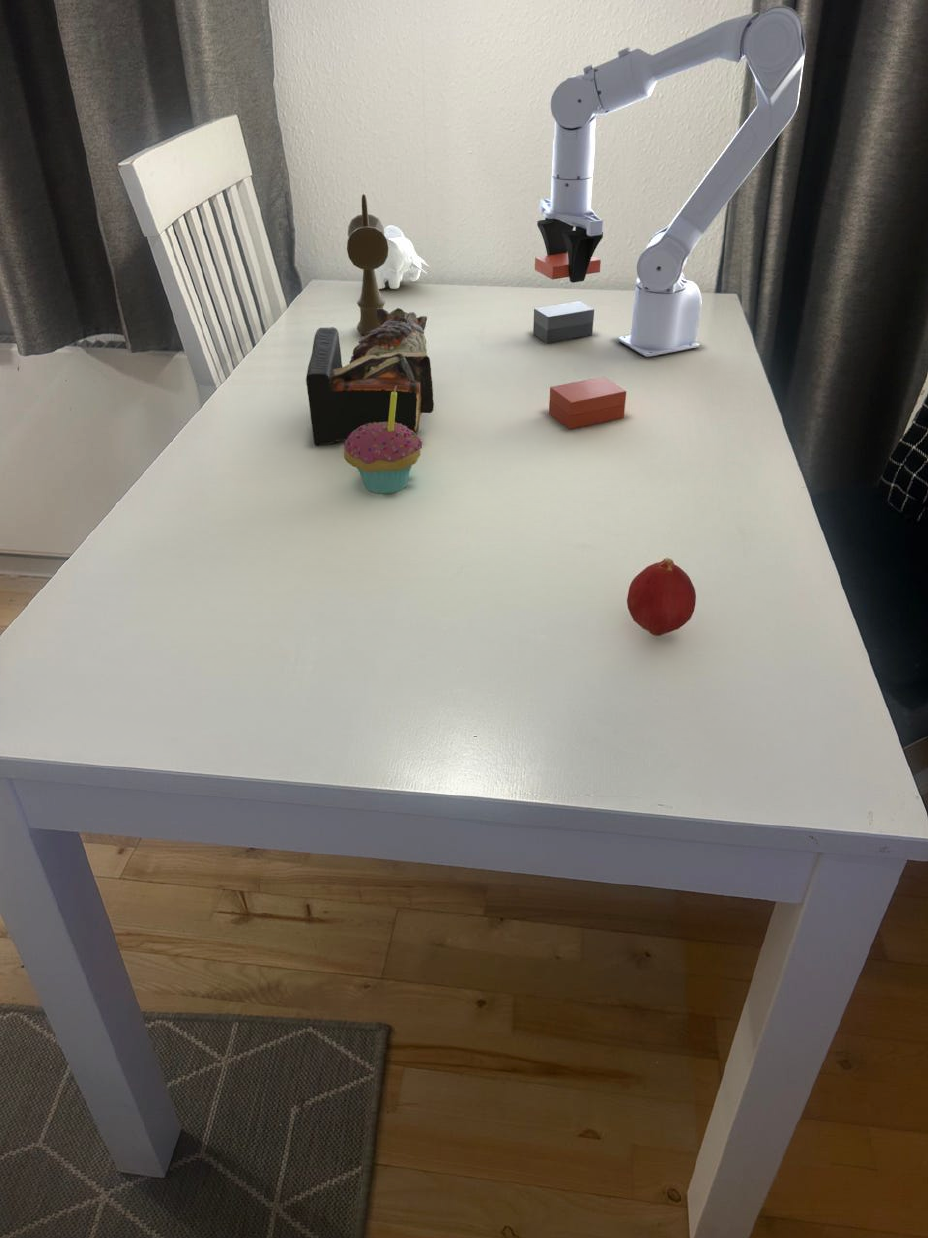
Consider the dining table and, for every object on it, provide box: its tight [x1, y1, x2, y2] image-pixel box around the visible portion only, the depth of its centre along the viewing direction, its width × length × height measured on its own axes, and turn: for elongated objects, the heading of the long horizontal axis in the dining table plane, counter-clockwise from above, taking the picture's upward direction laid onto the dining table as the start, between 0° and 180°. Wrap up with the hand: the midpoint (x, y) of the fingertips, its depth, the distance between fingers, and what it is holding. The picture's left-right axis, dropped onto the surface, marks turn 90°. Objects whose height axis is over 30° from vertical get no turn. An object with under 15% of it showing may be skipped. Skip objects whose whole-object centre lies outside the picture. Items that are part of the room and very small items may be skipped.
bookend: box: [305, 308, 435, 446], centre depth 118 cm, size 15×11×25 cm
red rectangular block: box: [548, 400, 626, 430], centre depth 117 cm, size 8×5×2 cm
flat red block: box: [534, 252, 602, 281], centre depth 134 cm, size 8×5×2 cm
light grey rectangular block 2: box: [533, 300, 595, 330], centre depth 139 cm, size 8×4×2 cm, turn 115°
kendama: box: [346, 193, 389, 336], centre depth 137 cm, size 6×10×20 cm, turn 7°
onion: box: [626, 557, 697, 637], centre depth 79 cm, size 6×6×8 cm
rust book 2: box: [549, 376, 627, 416], centre depth 116 cm, size 8×5×2 cm
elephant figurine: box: [374, 224, 430, 290], centre depth 159 cm, size 10×12×9 cm
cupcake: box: [343, 386, 423, 495], centre depth 100 cm, size 9×8×12 cm
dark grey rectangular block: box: [532, 321, 594, 344], centre depth 140 cm, size 8×4×2 cm, turn 115°
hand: (566, 275), depth 135 cm, fingers closed on flat red block, 5 cm apart
